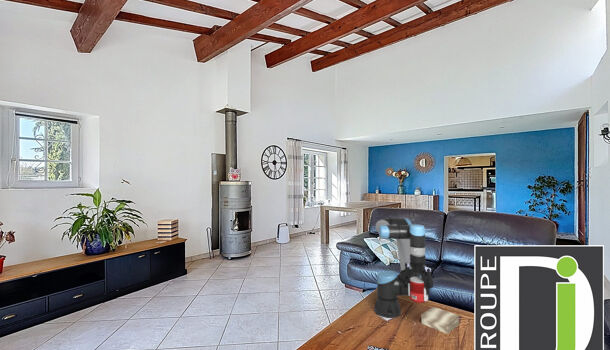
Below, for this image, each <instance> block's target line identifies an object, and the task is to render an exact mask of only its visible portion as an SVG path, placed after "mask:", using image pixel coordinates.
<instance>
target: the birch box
mask: <svg viewBox="0 0 610 350" xmlns="http://www.w3.org/2000/svg"><path fill="white" fill-rule="evenodd" d="M420 318H421V319H420V320H421V324H422V325H423V326H427V327H429V328H431V329H434V330H436V331H439V332H441V333H444V334H447V335H449V334H450V333H451V332H452V331H453V330H454V329H456V328H457V327H458V326H459V324H460V315H459V314H456V313H453V312H450V311H447V310H444V309H441V308H439V307H436V306H432V307H430V308H429V309H428V310H426V311H425V312H423V313H421V316H420Z"/></svg>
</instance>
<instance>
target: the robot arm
mask: <svg viewBox="0 0 610 350" xmlns="http://www.w3.org/2000/svg"><path fill="white" fill-rule="evenodd" d="M374 229H375V231H376V232H377V233H378V236H379V238H380V239H381V240H383V239H385V240H390V239H391V240H392V239H393V240H395V241H396V248H397V252H398V258H399V263H400V264H399V266H400V271H399V272H397V271H394V270H382V271H381V272H379V273H378V274H377V276H376V277H377V278H376V289H377V291H376V294H377V295H376V296H377V297H376V300H375V303H374V307H373V308H374V312H375V314H376V315H378V316H380V317H382V318H386V319H388V318H389V319H393V318H398V317H400V316H401V314H402V310H401V306H400V303H399V299H398V297H399V296H404V297H410V278H412V277H421V278H422V280H423V282H424V285H425V288H424V301H426V302H427V301H429V295H430V293H431V292H430V290H431V289H433V288H434V282H433V276H432V268H431V267H427V265H426V229H425V226H424V225H422V224H412V221H411V220H410V218H407V217H405V218H404V217H400V218H398V217H396V218H395V217H385V218H382V219H381V218H380V219H379V220H378V221H376V223H375V225H374Z"/></svg>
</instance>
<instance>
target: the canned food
mask: <svg viewBox="0 0 610 350" xmlns="http://www.w3.org/2000/svg"><path fill="white" fill-rule="evenodd" d="M424 288H425V285H424V282H423V280H422V278H421V277H412V278H410V296H409V299H410V301H412V302H413V303H416V304H424V303H426V302H427V301H424Z"/></svg>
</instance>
